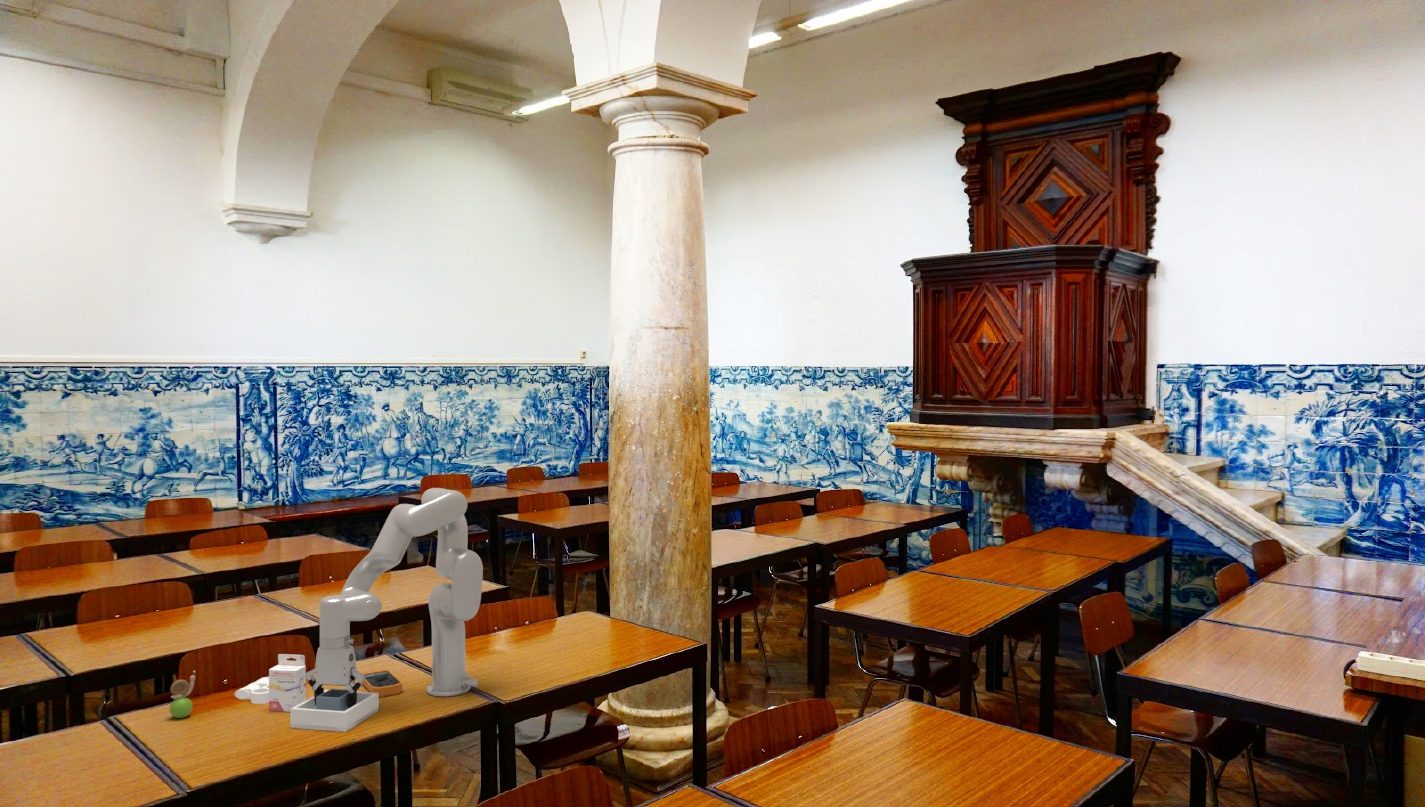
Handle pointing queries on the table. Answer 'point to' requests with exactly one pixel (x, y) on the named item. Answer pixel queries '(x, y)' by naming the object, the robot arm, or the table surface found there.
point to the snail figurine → (181, 697)
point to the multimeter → (382, 683)
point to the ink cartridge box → (287, 683)
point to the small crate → (332, 700)
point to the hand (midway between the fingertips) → (335, 705)
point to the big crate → (334, 714)
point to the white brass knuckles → (255, 691)
